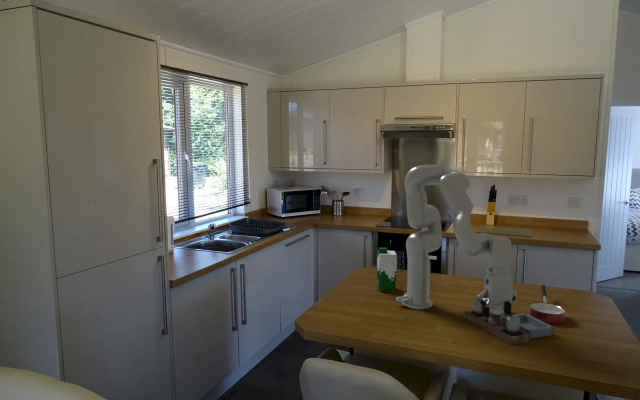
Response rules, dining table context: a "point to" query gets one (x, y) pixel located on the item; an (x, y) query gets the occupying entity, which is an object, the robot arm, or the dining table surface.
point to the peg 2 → (512, 325)
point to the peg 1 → (478, 308)
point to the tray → (533, 326)
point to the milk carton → (386, 270)
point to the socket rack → (497, 329)
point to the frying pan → (547, 311)
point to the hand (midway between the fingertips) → (496, 314)
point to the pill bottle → (496, 314)
